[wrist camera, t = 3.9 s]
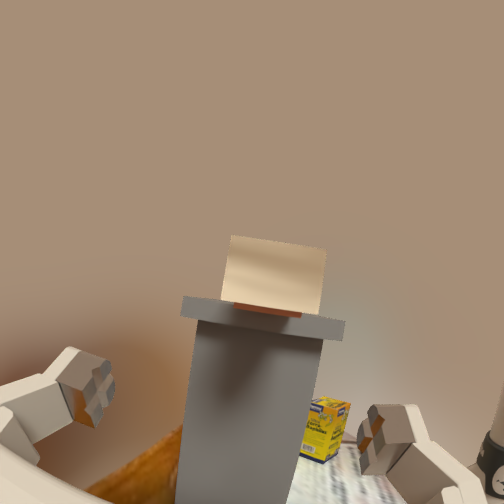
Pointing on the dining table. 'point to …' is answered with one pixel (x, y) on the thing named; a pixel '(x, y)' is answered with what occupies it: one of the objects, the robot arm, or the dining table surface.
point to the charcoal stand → (247, 402)
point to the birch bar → (273, 277)
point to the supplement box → (324, 429)
